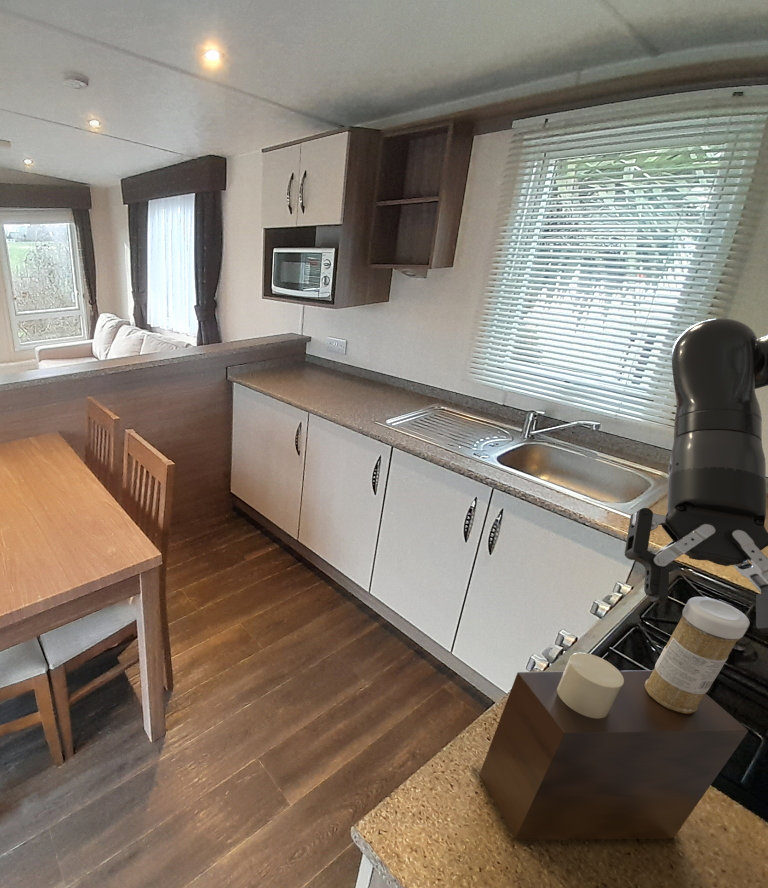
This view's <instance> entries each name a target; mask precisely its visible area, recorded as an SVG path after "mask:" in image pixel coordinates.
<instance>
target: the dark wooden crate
mask: <svg viewBox="0 0 768 888" xmlns="http://www.w3.org/2000/svg"><path fill="white" fill-rule="evenodd" d="M653 670H654V669H652V670H650V669H648V670H646V669H645V670H619V671H620V673H621V674H622V676H623V678H624V684H623V686H622V688H621V690H620V692H619V694H618V696H617V698H616V700H615V702H614V704H613V706H612V708H611V710H610V712H609V714H608V715H607V716H606V717H604V718H600V719H596V718H590V717H587V716H584V715H582V714H580V713H578V712H576V711H574V710H573V709H571V708H570V707H568V706H567V705H566V704H565V703H564V702H563V701H562V700H561V698H560V697H559V695H558V693H557V686H558V684H559V682H560V679H561V677H562V675H563V672H564V671H518V672H517V673H516V676H515V677H514V681H513V683H512V686H511V689H510V692H509V694H508V697H507V699H506V702H505V705H504V708H503V710H502V713H501V716H500V718H499V720H498V724H497V726H496V729H495V730H494V731H495V732H494V734H493V737H492V740H491V742H490V744H489V748H488V750H487V753H486V756H485V759H484V761H483V764H482V766H481V769H480V771H479V774H478V775H479V777H480V779H481V781H482V783H483V785H484V786H485V788H486V790H487V791H488V793H489V795H490V797H491V798H492V801H493V802H494V804H495V806H496V808H497V809H498V811H499V813H500V815H501V817H502V819H503V820H504V822H505V824H506V826H507V827H508V830H509V831H510V833H511V835H512V836H513V839H514V840H516V841H517V840H521V841H523V840H524V841H525V840H528V841H529V840H629V839H630V840H632V839H637V840H638V839H639V840H640V839H641V840H642V839H674V838H675V837H676V836H677V834H678V832H679V831H680V830H681V828H682V827H683V825H684V824H685V823H686V821H687V819H688V818H689V817H690V816H691V814H692V812H693V811H694V810H695V808H696V807H697V805H698V804H699V802H700V801H701V799H702V798H703V797H704V795H705V794H706V793H707V791H708V790H709V788H710V787H711V785H712V784H713V783H714V781H715V779H716V778H717V777H718V776H719V774H720V773H721V771H722V770H723V768H724V767H725V765H726V764H727V763H728V761H729V760H730V759H731V757H732V755H733V754H734V753H735V751H736V750H737V748H738V747H739V745H740V744H741V742H742V741H743V740H744V738H745V737H746V736H747V734H748V732H749V730H748V729H747V728H746V727H745V726H743V724H742V723H740V722H739V721H737V719H736V718H734V717H733V716H732V715H731V714H730V713H729V712H728V711H726V709H724V708H723V707H722V706H721V705H720V704H718V703H717V702H716V701H715V700H714V699H713V698H712V697H710V695H708V694H707V692H706V693H705V694H704V695H703V697H702V699H701V701H700V702H699V704H698V709H697V710H696V711H695V712H692V713H686V714H685V713H681V712H676V711H674V710H671V709H668V708H666V707H665V706H663V705H661V704H660V703H658V702H657V701H656V700H655V699H653V698H652V697H651V696H650V695H649V694H648V692H647V691H646V688H645V682H646V681H647V680H648V679H649V678H650V676H651V674H652V672H653Z"/></svg>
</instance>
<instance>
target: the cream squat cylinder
mask: <svg viewBox="0 0 768 888" xmlns="http://www.w3.org/2000/svg"><path fill="white" fill-rule="evenodd" d="M620 671H621V670H619V668H617V667H616V666H614V665H613V664H612V663H610V662H609V661H608V660H606V659H604V658H602V657H600V656H597V655H595V654H591V653H587V652H575V653H573V654H571V655H570V656H569V659H568V661H567V663H566V665H565V667H564V670H563V671H562V672H563V675H562V677H561V679H560V682H559V684H558V686H557V693H558V695H559V697H560V698H561V700H562V701H563V702H564V703H565V704H566V705H567V706H568V707H570V708H571V709H573V710H574V711H576V712H578V713H580V714H582V715H584V716H587V717H590V718H596V719H600V718H604V717H606V716H607V715H608V714H609V712H610V710H611V708H612V706H613V704H614V702H615V700H616V698H617V696H618V694H619V692H620V690H621V688H622V686H623V684H624V678H623V676H622V674H621V673H620Z"/></svg>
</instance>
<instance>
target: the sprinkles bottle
mask: <svg viewBox="0 0 768 888" xmlns="http://www.w3.org/2000/svg"><path fill="white" fill-rule="evenodd" d="M750 624H751V623H750V619H749V618H748V616H747V615H745V613H743V612H742V611H741V610H739V609H738V608H737V607H734V606H733V605H731V604H729V603H728V602H727V603H726V602H724V601H721V600H718V599H715V598H712V597H707V596H693V597H691V598H689V599H688V600H687V601H686V604H685V605H684V607H683V608H682V614H681V618H680V620H679V622H678V623H677V625H676V627H675V629H674V630H673V632H672V634H671V635H670V638H669V640H668V642H667V643H666V645H665V646H664V648H663V649H662V651H661V654H659V657H658V659H657V660H656V663H655V665H654V669H652V670H653V672H652V674H651V676H650V678H649V679H648V680H647V681H646V682H645V688H646V691H647V692H648V694H649V695H650V696H651V697H652V698H653V699H655V700H656V701H657V702H658V703H660V704H661V705H663V706H665V707H666V708H668V709H671V710H674V711H676V712H681V713H685V714H686V713H692V712H695V711H696V710H697V709H698V704H699V702H700V701H701V699H702V697H703V695H704V694H705V693H706V694H707V693H708V691H709V689H710V688H711V686H713V683H714V682H715V680H716V678H717V677H718V675H719V674H720V672H721V670H722V668H723V667H724V665H725V664H726V662H727V660H728V659H729V655H730V653H731V652H732V651H733V648H734V646H735V645H736V643H737V642H738V641H740V640H741V638H744V636H745V634H746V632H747V631H748V629H749V627H750Z"/></svg>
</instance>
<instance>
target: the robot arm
mask: <svg viewBox="0 0 768 888" xmlns="http://www.w3.org/2000/svg"><path fill="white" fill-rule="evenodd" d="M671 371H672V377H673V378H672V379H673V388H674V394H675V400H676V405H675V408H676V410H675V415H674V422H673V423H674V426H673V427H674V428H673V442H672V443H673V444H672V449H671V452H670V456H669V464H668V466H667V472H668V484H667V486H668V487H667V505H666V509H667V510H666V511H667V513H666V515H663V514H659V513H654V512H653V510H652V509H650V508H648V507H642V508H640V509H638V510H637V511H635V512H633V513H631V515H630V516H629V517H630V518H629V524H628V530H627V535H626V543H625V549H624V556H625V558H626V559H627V560H630V561H635V562H637V563H639V564H641V565H642V566H643V567H644V569H645V570H644V571H645V572H644V586H643V587H644V589H643V591H644V594H645V595H646V596H649V600H650V602H652V603H656V604H665V603H667V602H668V599H669V585H670V568H666V567H667V566H668V565H669V564H670V563H672V562H673V561H675V560H676V559H678V558H679V557H680V556H683V555H685V556H687V557H688V559H691V560H696V561H708V562H711V563H713V564H715V565H719V566H723V567H730V566H732V567H733V568H734V569H735V570H736V571H737V572H738V573H739V575H741V576H742V577H744V578H746V579H747V580H748V581H749V582H750V583H751V584H752V585H753V587H754V588H755V589H756V590H757V591H758V592H759V593H758V594H756V595H755V625H756V629H758V630H762V631H766V632H768V556H766V555H765V554H764V552H763V551H762V550H764V549H765V548H767V547H768V531H767V529H766V526H765V522H766V517H767V486H766V485H767V483H766V481H767V480H766V479H767V477H766V476H767V475H766V474H767V473H766V464H767V463H766V457H765V453H764V449H763V442H762V441H763V438H762V437H763V434H762V431H763V430H762V429H763V427H762V426H763V425H762V424H763V420H762V410H761V407H760V403H759V401H758V397H757V394H756V390H757V389H761V388H765V387H768V335H765V336H762V337H760V338H758V336H757V335H756V333H755V331H754V330H753V329H752V328H751V327H750V326H749V325H748V324H746V323H743V322H741V321H739V320H736V319H732V318H722V317H721V318H711V319H707V320H704V321H701V322H698V323H696V324H694V325H692V326H690V327H689V328H687V329H686V330H685V331H683V332H682V334H680V335H679V337H678V338H677V340H676V341H675V343H674V345H673V348H672V351H671ZM658 526H661V528H662V529H663V531H664V532H665V533H666V534H667V536H668V537H669V538H670V539H671V540H672V541H670V542H669V543H667V544H665V545H664V546H663V547H661V548H660V549H659V550H658V551H657V552H655V553H653V552H651V551H649V545H650V544H649V543H650V538H651V532H652V531H654V530H656V529H657V528H658Z"/></svg>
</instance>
